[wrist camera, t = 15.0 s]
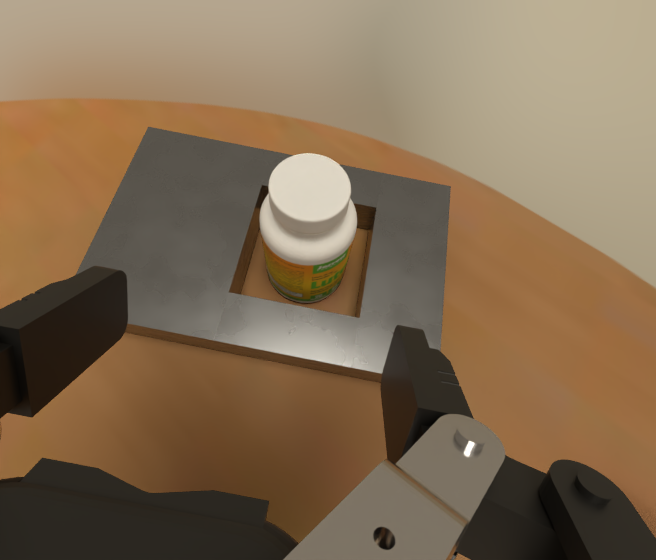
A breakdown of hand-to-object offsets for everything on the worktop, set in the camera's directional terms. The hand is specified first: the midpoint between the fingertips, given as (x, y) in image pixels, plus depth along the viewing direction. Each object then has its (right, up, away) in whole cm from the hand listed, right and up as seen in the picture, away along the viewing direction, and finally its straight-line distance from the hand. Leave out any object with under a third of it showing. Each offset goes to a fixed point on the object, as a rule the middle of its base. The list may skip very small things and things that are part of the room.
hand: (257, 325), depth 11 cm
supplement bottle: (0, +2, +16) cm, 16 cm away
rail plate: (-1, +3, +16) cm, 16 cm away
